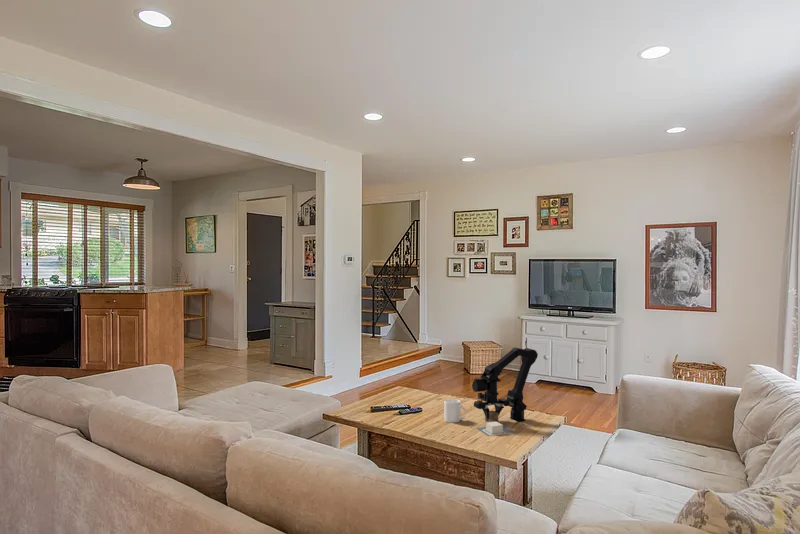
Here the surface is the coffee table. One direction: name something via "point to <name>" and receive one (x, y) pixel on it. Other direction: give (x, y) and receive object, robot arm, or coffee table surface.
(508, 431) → the grey flat rectangular panel
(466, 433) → the coffee table surface
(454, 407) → the mug
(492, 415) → the walnut cube
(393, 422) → the coffee table surface
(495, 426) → the base block
